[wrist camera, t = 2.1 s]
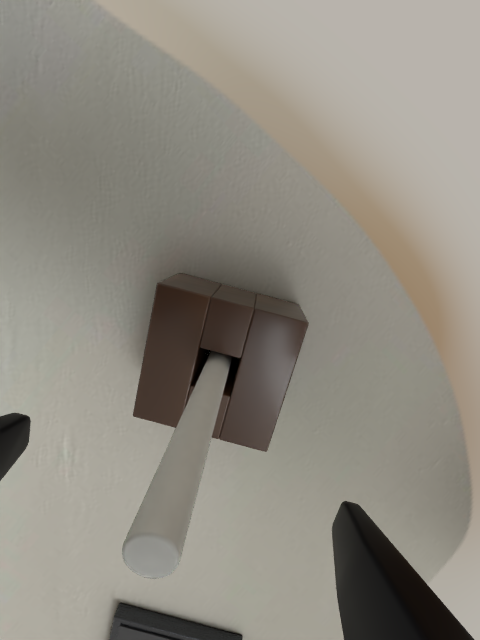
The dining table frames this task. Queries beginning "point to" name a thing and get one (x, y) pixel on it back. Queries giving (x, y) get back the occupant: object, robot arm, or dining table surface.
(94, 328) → the dining table surface
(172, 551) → the stylus
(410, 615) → the robot arm
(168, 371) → the pen stand
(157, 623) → the tablet
